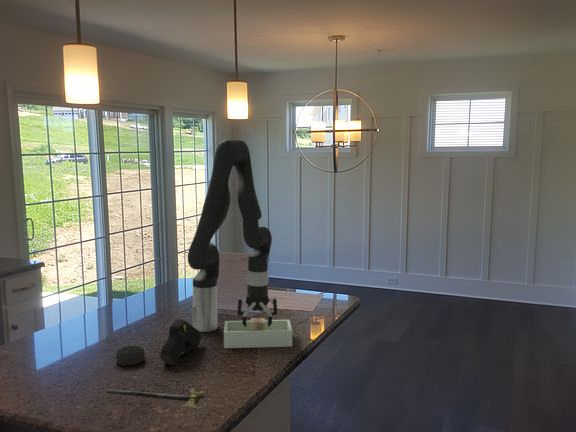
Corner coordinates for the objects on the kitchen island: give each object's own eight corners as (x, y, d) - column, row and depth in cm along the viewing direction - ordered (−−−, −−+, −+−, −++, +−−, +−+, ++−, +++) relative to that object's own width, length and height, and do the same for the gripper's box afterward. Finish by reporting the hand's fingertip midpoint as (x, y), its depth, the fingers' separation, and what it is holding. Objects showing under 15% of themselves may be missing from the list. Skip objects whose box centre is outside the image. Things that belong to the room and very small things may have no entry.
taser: (156, 360, 162) (171, 314, 169) (181, 373, 177) (194, 331, 183) (168, 361, 161) (182, 316, 167) (192, 374, 175) (204, 332, 182)
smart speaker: (112, 360, 168) (111, 349, 168) (138, 354, 174) (137, 342, 173) (122, 369, 161) (122, 357, 161) (149, 362, 167) (148, 350, 166)
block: (251, 341, 183) (251, 322, 182) (250, 336, 188) (250, 318, 187) (265, 341, 184) (265, 322, 183) (264, 336, 188) (264, 318, 188)
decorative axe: (104, 390, 145) (127, 372, 154) (105, 395, 146) (127, 377, 155) (194, 411, 135) (213, 391, 144) (195, 417, 135) (214, 396, 144)
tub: (223, 348, 179) (223, 332, 178) (225, 336, 191) (225, 321, 190) (292, 346, 181) (292, 330, 180) (289, 334, 193) (289, 319, 192)
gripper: (237, 285, 179) (237, 329, 181) (278, 285, 180) (277, 329, 182) (237, 279, 186) (237, 322, 189) (276, 279, 188) (276, 322, 190)
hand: (257, 325), depth 186 cm, fingers open, 8 cm apart
